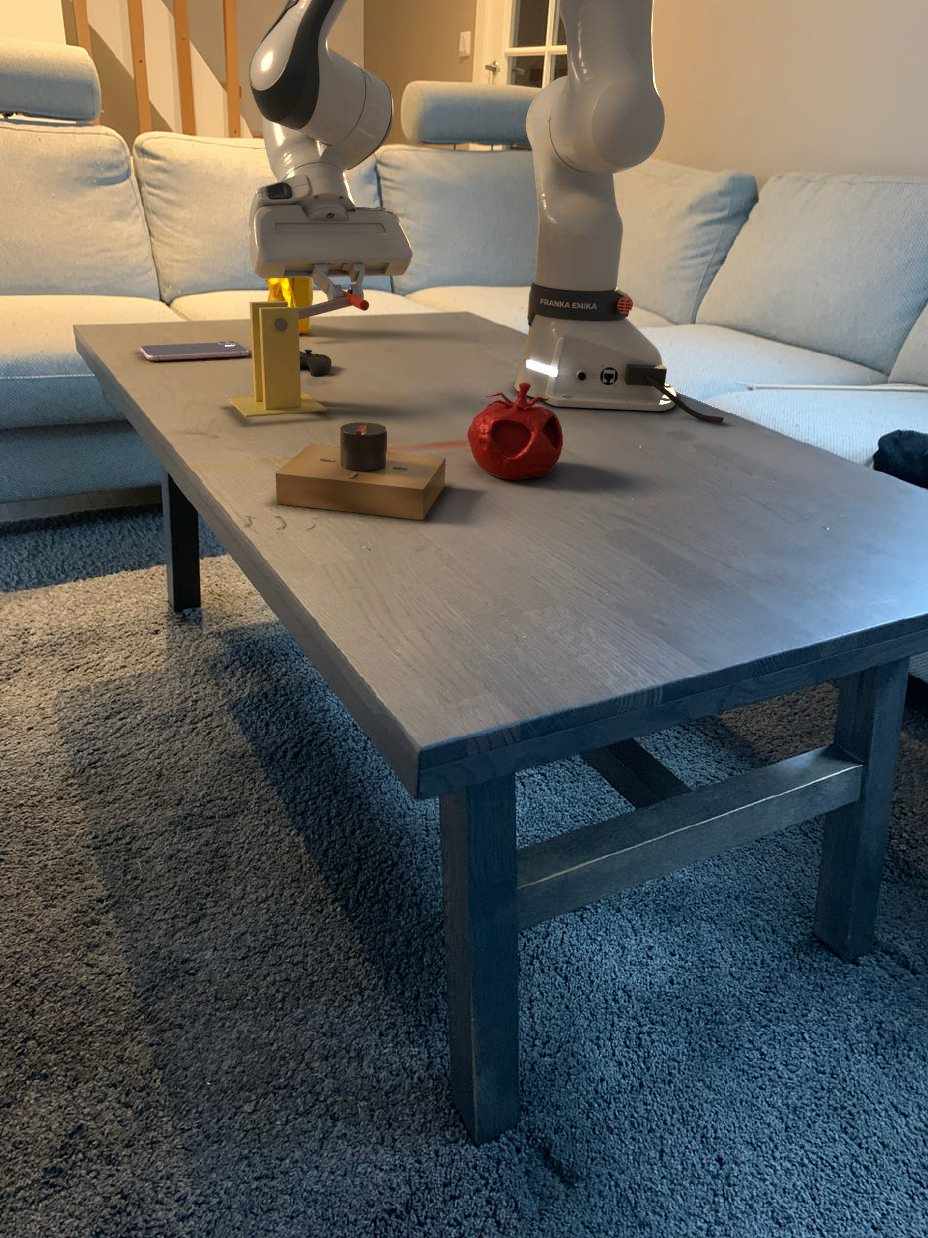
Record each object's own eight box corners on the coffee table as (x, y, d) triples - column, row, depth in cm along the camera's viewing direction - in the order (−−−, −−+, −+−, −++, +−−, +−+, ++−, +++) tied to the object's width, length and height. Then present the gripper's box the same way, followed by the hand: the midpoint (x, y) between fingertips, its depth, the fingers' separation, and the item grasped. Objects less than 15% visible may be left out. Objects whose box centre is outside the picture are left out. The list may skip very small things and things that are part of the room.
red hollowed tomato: (451, 460, 104) (455, 374, 100) (534, 453, 108) (541, 370, 104) (490, 490, 96) (496, 397, 92) (577, 481, 100) (587, 392, 96)
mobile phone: (137, 344, 144) (237, 339, 150) (138, 350, 145) (237, 346, 151) (147, 354, 138) (250, 349, 144) (148, 361, 139) (250, 356, 145)
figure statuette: (257, 323, 170) (250, 186, 160) (301, 322, 173) (297, 187, 163) (280, 343, 155) (275, 194, 145) (327, 341, 158) (325, 195, 148)
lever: (347, 303, 120) (343, 283, 119) (371, 314, 114) (367, 293, 113) (256, 327, 116) (251, 307, 115) (275, 340, 110) (270, 319, 109)
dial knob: (346, 455, 94) (346, 417, 92) (390, 459, 94) (391, 420, 92) (335, 469, 90) (334, 429, 89) (381, 473, 90) (381, 433, 88)
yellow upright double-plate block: (306, 402, 123) (304, 298, 117) (327, 418, 117) (326, 309, 111) (229, 407, 119) (222, 300, 113) (246, 424, 113) (240, 311, 107)
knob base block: (444, 485, 97) (445, 455, 95) (422, 520, 88) (423, 487, 87) (311, 471, 99) (310, 441, 97) (276, 503, 90) (275, 471, 89)
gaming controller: (256, 368, 134) (271, 333, 136) (272, 390, 139) (287, 355, 141) (317, 377, 131) (332, 341, 133) (331, 399, 136) (345, 364, 138)
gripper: (388, 224, 128) (416, 313, 125) (236, 224, 120) (262, 320, 116) (402, 190, 123) (432, 282, 119) (243, 188, 114) (271, 286, 111)
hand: (347, 301), depth 118 cm, fingers closed on lever
